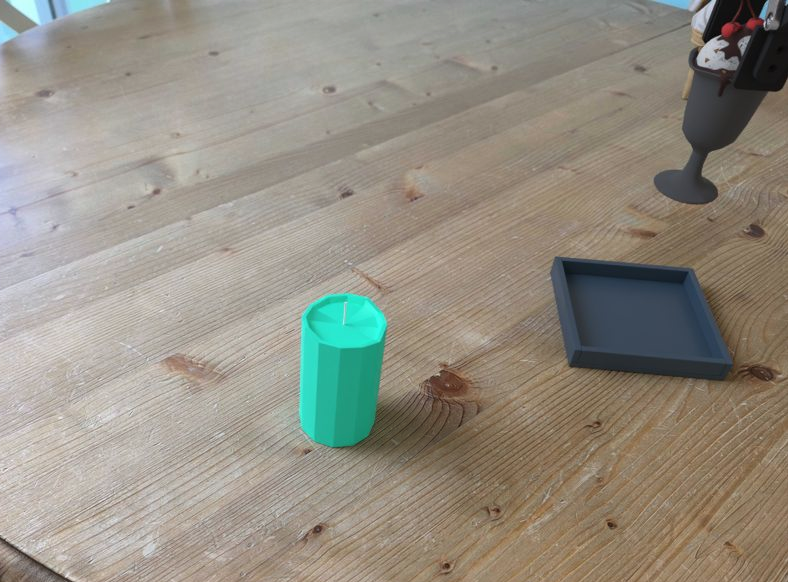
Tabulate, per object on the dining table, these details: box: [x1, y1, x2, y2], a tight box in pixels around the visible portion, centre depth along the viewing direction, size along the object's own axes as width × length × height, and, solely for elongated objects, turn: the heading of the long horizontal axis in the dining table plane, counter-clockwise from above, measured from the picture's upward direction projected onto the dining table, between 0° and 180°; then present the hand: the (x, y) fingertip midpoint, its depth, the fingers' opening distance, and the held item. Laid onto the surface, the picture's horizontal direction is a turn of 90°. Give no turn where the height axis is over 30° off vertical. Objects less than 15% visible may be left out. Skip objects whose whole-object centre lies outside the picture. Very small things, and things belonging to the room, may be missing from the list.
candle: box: [298, 292, 388, 448], centre depth 55 cm, size 6×6×12 cm
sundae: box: [652, 0, 769, 206], centre depth 54 cm, size 7×7×15 cm
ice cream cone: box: [681, 0, 716, 100], centre depth 98 cm, size 6×6×15 cm
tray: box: [549, 256, 734, 381], centre depth 68 cm, size 13×13×2 cm
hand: (739, 63), depth 53 cm, fingers closed on sundae, 6 cm apart
